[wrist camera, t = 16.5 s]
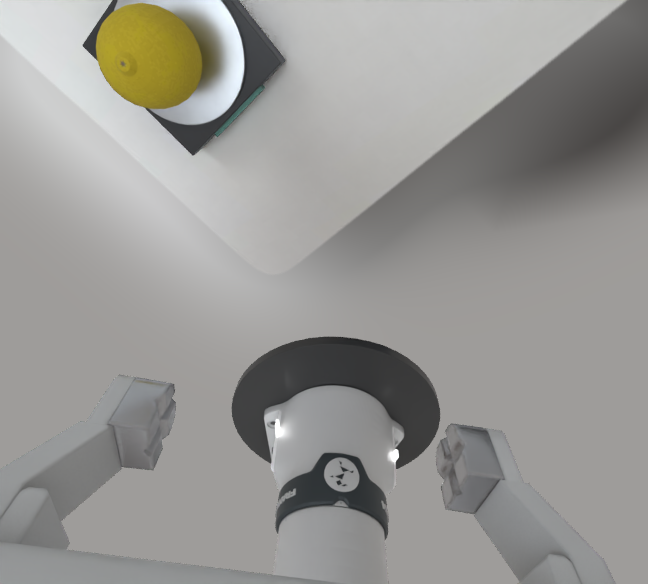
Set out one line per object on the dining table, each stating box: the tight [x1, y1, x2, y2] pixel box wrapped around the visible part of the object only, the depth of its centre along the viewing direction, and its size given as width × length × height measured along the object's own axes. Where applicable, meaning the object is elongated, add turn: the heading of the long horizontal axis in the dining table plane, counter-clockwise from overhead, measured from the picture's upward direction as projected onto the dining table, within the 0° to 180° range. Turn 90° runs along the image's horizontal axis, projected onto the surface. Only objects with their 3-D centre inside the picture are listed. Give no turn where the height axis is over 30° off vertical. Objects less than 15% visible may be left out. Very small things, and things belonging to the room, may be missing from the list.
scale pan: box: [114, 0, 246, 125], centre depth 28 cm, size 9×9×1 cm
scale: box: [83, 0, 285, 155], centre depth 29 cm, size 10×10×3 cm
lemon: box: [96, 3, 202, 109], centre depth 24 cm, size 6×6×8 cm
